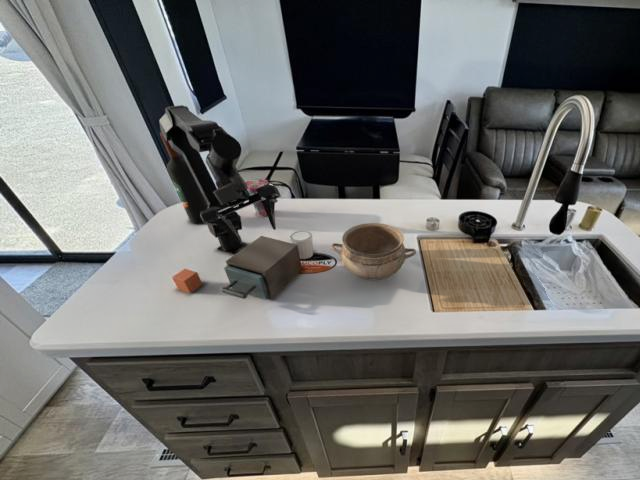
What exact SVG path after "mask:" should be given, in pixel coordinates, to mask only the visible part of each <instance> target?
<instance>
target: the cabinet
mask: <svg viewBox="0 0 640 480" xmlns="http://www.w3.org/2000/svg"><path fill="white" fill-rule="evenodd" d="M301 260H302V259H300V255H299V250H298V245H296V244H292V242H288V241H284V240H280V239H276V238H272V237H269V236H265V235H260V236H259V237H258V238H256V239H255V240H253V241H252V242H250V243H249V244H248V245H245V246H244V247H243V248H241V249H240V250H238V251H237V252H236V253H234V254H233V255H232V256H230V258H228V259H227V260H225V263H226V266H230V267H234V266H237V267H240V268H244V269H248V270H251V271H255V272H258V273H262V274H263V275H264V279H265V282H266V285H267V288H268V296H269V297H268V299H269V298H270V299H272V300H273V299H274V298H275V297H276V296H277V295H278V294H279V293H280V292H282V291H283V289H284V288H285V287H286V286H288V285H289V284H290V283H291V282H292V281H293V280H295V278H296V277H297V276H298V275H299V274H300V273H301V272H302V271H303V265H302V262H301Z"/></svg>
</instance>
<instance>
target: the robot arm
mask: <svg viewBox="0 0 640 480" xmlns="http://www.w3.org/2000/svg"><path fill="white" fill-rule="evenodd" d="M164 109H165V110H164V111H165V113H164V115H162V116H161V118H160V119H159V120H158V121H159V129H160V132H162V135H163V137H164V138H165V140H166V141H168V142H169V144H170V145H171V147H172V149H174V150H175V151H176V152H178V153H179V155H180V156H182V157H183V158H182V159H184V160H185V161H186V163H187V165H188V167H189V169H190V171H191V173H192V175H193V177H194V179H195V181H196V183H197V185H198V187H199V189H200V191H201V193H202V195H203V196H204V198H205V200H206V202H207V204H208V209H206V210H204V211H201V214H200V217H201V219H202V221H203V222H204V223H203V224H207V229H208V231H209V232H210V234H211V235H212V236H214V238H216V239H217V240H218V242H219V247H217V251H221V252H223V253H228V254H231V255H235V254H236V253H238V252H239V251H241V250H242V249H243V248H245V247H246V246H247V243H246V242H243V240H242V237H241V235H240V233H239V231H241V230H243V224H242V219H241V217H242V216H241V215H240V214H239V213H238V212H237V211H239V210H242V209H244V208H246V207H249V206H251V205H253V204H254V203H256V202H259V201H261V200H262V201H261V203H262V205H263V207H264V208H265V211H266V213H267V216H266V217H267V218H268V222H269V224H270V226H271V227H272V229H273V231H277V226H276V217H275V212H276V211H275V210H276V209H275V208H276V207H275V206H276V203H278V201H279V200H278V199H279V198H281V197H282V195H281V193H280V191H279V189H278V187H276V186H275V185H273V184H272V183H269V182H268V184H267V185H264V186H262V187H259V188H257V192H258V193H256V194H254V195H250V194H249V192H248V190H247V189H248V186H247V185H246V183H245V182H246V181H245V180H244V178H243V176H241V174H240V171H239V170H238V168H237V164H238V162H239V160H240V157H241V155H242V146H241V143H240V141H238V140H237V138H235V137H234V136H232V135H231V134H229V133H228V132H227V131H226V130H225V129H224V128H223V127H222V126H220V124H219V123H217V122H216V121H213V120H203V119H201V118H200V117H198V115H196V114H195V113H193V112H192V111H190V109H189V107H188V106H187V105H183V104H182V105H180V104H179V105H171V106H167V107H165V108H164ZM204 152H208V154H207V155H206V157H205V162H204V159H203V157H202V155H201V153H204ZM214 181H215V182H214Z"/></svg>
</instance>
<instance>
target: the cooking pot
mask: <svg viewBox="0 0 640 480" xmlns="http://www.w3.org/2000/svg"><path fill="white" fill-rule="evenodd" d="M341 239H342V243H339V242H338V243H337V242H335V243H332V244H331V246H330V248H331V249H332V250H333V252H335V253H337V254H338V255H340V256H341V261H342V263H343V265H344V266H345V268H346V269H347V271H349V273H351V274H352V275H354V276H356V277H358V278H361V279H364V280H370V281H371V280H372V281H374V280H383V279H386V278H389V277H391V276H394V275H395V274H396V273H397V272H398V271H400V270H401V268H402V267H403V265H404V263H405V261H406V260H407V259H409V258H412V257H413V256H415V255H416V254H417V250H416V248H407V247H405V244H404V240H405V237H404V234H403V233H402V231H401V230H400V229H398V228H397V227H395V226H393V225H390V224H386V223H381V222H367V223H360V224H357V225H354V226H352V227H349V228H348V229H347V230H346V231H344V233H343V235H342V238H341ZM336 247H338V248H341V249H338V248H336ZM409 252H411V253H409ZM407 253H408V254H407Z"/></svg>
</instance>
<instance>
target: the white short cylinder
mask: <svg viewBox="0 0 640 480" xmlns="http://www.w3.org/2000/svg"><path fill="white" fill-rule="evenodd" d="M289 239H290V243H292V244H296V245H298V250H299V255H300V260H307V259H310V258H312V257H313V256H314V241H313V239H314V238H313V234H312V232H310V231H308V230H297V231H294V232H292V233H291V234H290V235H289Z"/></svg>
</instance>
